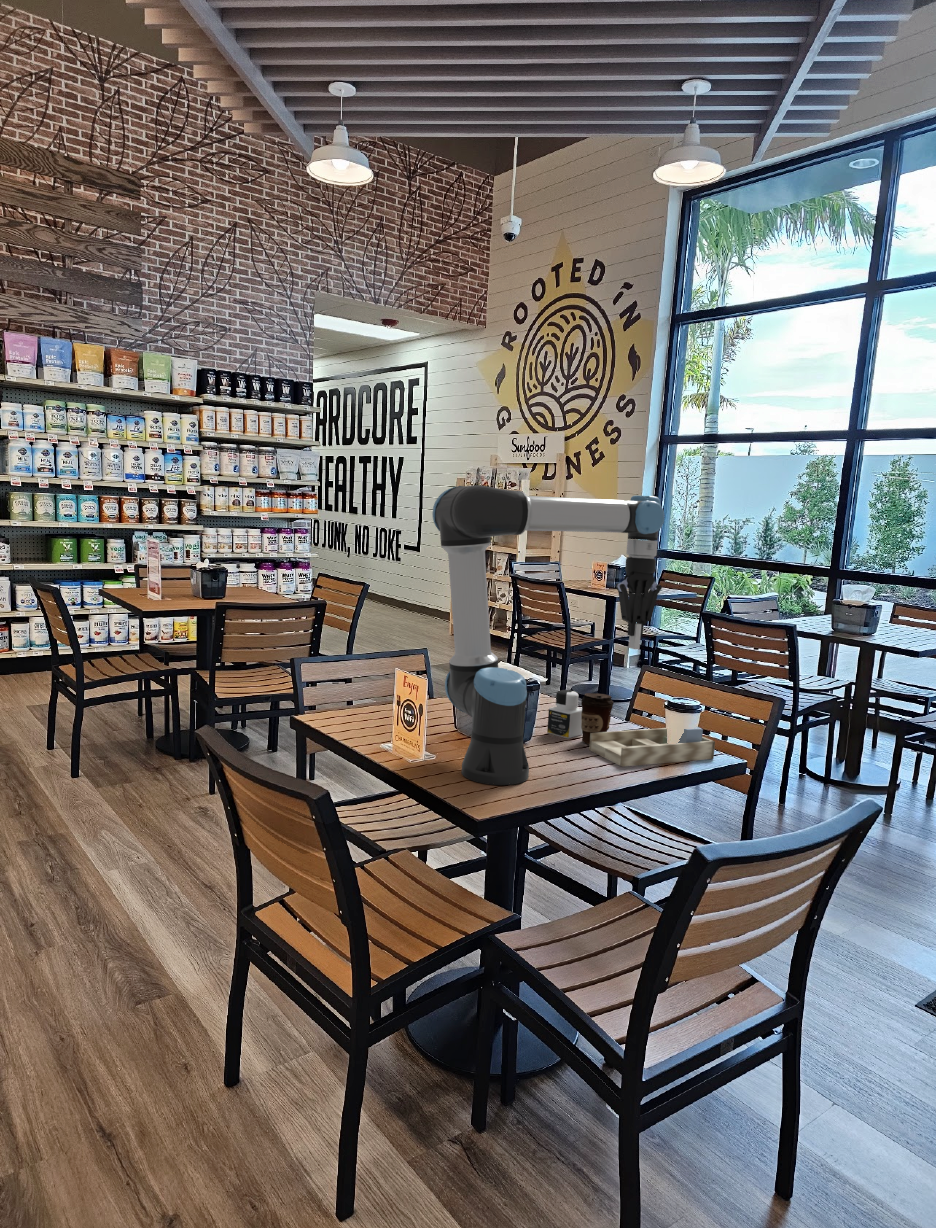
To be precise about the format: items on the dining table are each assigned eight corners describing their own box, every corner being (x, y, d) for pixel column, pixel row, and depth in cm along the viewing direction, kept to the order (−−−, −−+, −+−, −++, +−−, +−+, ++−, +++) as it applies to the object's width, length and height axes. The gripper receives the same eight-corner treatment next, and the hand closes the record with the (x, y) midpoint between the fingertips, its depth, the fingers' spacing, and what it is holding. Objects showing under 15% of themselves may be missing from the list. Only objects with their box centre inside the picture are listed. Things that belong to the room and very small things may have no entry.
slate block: (685, 749, 200) (687, 729, 199) (672, 743, 204) (674, 724, 204) (700, 748, 202) (702, 729, 201) (688, 742, 206) (689, 724, 206)
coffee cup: (600, 749, 205) (603, 700, 203) (572, 742, 210) (575, 694, 208) (615, 743, 212) (619, 695, 210) (587, 737, 216) (591, 690, 215)
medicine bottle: (546, 733, 218) (549, 690, 217) (561, 729, 223) (564, 687, 222) (568, 739, 213) (571, 695, 212) (582, 734, 219) (585, 692, 217)
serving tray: (622, 766, 190) (623, 748, 190) (589, 750, 204) (590, 732, 203) (713, 758, 202) (715, 741, 201) (676, 743, 215) (678, 727, 214)
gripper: (628, 556, 196) (621, 651, 199) (671, 558, 201) (663, 650, 204) (611, 555, 203) (604, 646, 205) (653, 557, 208) (645, 645, 211)
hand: (633, 648), depth 205 cm, fingers closed
